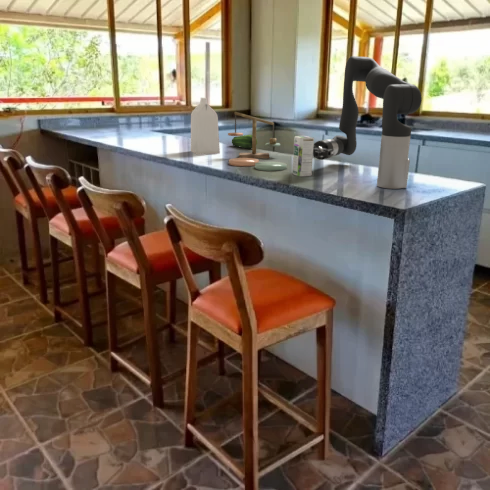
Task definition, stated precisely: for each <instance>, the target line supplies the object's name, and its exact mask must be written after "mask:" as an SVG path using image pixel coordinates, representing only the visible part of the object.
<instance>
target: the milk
mask: <svg viewBox="0 0 490 490" xmlns="http://www.w3.org/2000/svg"><path fill="white" fill-rule="evenodd" d="M219 131H220V130H219V116H218V113H217V112H216V111H215V109H213V108H212V107H211V106H210V105H209V104H208V98H207V97H200V102H199V104H197V105H196V106H195V107H194V109H193V110H192V111H191V114H190V152H192V153H194V154H196V155H213V154H218V155H219V154H220V153H221V151H220V149H221V148H220V133H219Z"/></svg>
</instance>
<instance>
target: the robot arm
mask: <svg viewBox="0 0 490 490" xmlns="http://www.w3.org/2000/svg"><path fill="white" fill-rule="evenodd" d="M343 79H344V81H343V93H342V94H343V95H342V107H341V108H342V109H341V115H340V120H339V124H338V130H339V131H341V132H342V133H344V134H345V135H346V136H345V135H335V136H333V138H331V139H330V138H327V139H326V138H325V139H321V140H318V141H316V142H314V145H313V158H316V159H317V160H319V161H320V160H326V159H329V158H333V157H336V156H338V155H340V154H343V155H346V156H352V155H353V154H354V153H355V152H356V149H357V123H358V118H359V107H358V103H357V101H356V98H355V95H354V91H353V85H354V84H353V83H354V82H365V87H366V89H367V91H369V93H370V94H372V95H373V96H375V97H376V98H378V99H382V116H381V119H382V120H381V137H380V138H381V139H380V140H381V141H380V148H379V149H380V150H379V159H378V170H377V179H376V186H377V187H380V188H381V189H382V188H383V189H392V190H393V189H396V190H398V189H399V190H400V189H406V188H408V181H409V180H408V179H409V171H410V164H411V163H410V162H411V160H410V159H409V151H410V144H411V136H412V127H411V126H409V125H407V124H404V123H402V122H400V121H399V120H398V115H410V114H413V113H416V112H417V111H418V110H419V109H420V107H421V105H422V99H423V98H422V94H421V93H422V92H421V91H420V88H419V87H418V86H417V85H416V84H412V83H410V82H406V81H404V80H403V79H401V78H399V77H398V76H397V75H395V74H393V73H392V72H391V71H389V70H388V69H385V68H384V67H382V66H380V65H379V63H378V62H377V61H375V59H374V58H372V57H368V56H355V55H353V56H350V57H348V59H347V61H346V63H345V69H344V77H343Z"/></svg>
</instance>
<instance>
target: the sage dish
mask: <svg viewBox="0 0 490 490" xmlns="http://www.w3.org/2000/svg"><path fill="white" fill-rule="evenodd" d="M287 166H288V164H287V163H285V162H281V161H259V162H258V163H255V166H254V169H256V170H258V171H264V172H265V171H266V172H277V171H280V172H281V171H284V170H286V169H287V168H288V167H287Z"/></svg>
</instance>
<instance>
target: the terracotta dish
mask: <svg viewBox="0 0 490 490" xmlns="http://www.w3.org/2000/svg"><path fill="white" fill-rule="evenodd" d="M258 162H260V159H259V158H239V157H235V158H230V159H228V165H230V166H234V167H255V163H258Z"/></svg>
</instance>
